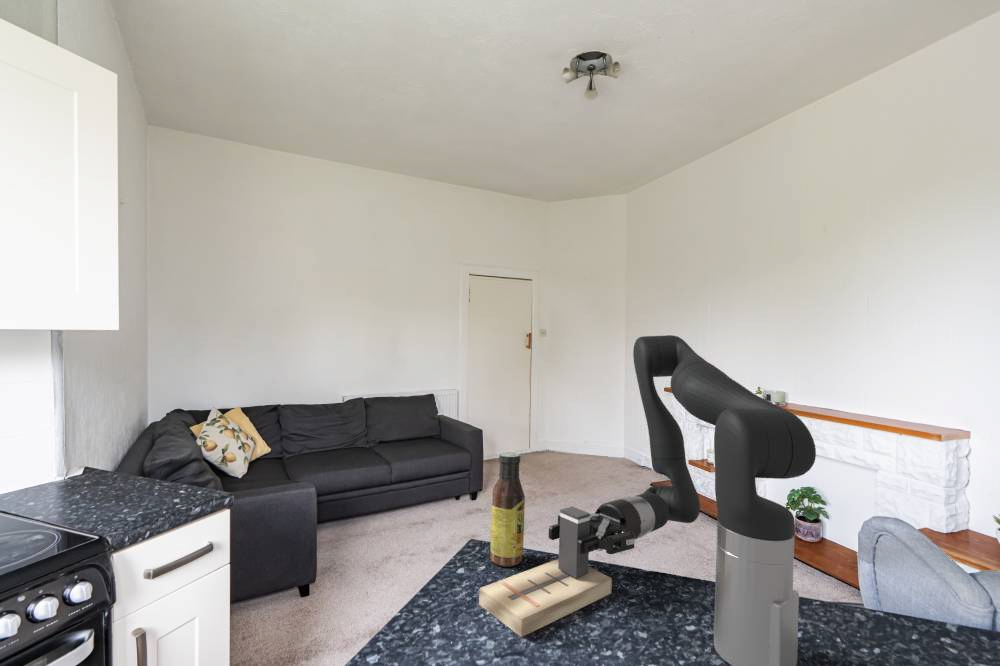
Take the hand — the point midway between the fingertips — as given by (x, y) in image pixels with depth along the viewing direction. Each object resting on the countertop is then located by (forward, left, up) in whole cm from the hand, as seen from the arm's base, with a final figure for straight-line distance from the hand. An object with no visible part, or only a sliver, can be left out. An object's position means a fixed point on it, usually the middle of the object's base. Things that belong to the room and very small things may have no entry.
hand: (564, 540), depth 78 cm
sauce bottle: (+14, +1, -9) cm, 16 cm away
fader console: (0, +4, -8) cm, 9 cm away
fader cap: (0, -2, -6) cm, 6 cm away
